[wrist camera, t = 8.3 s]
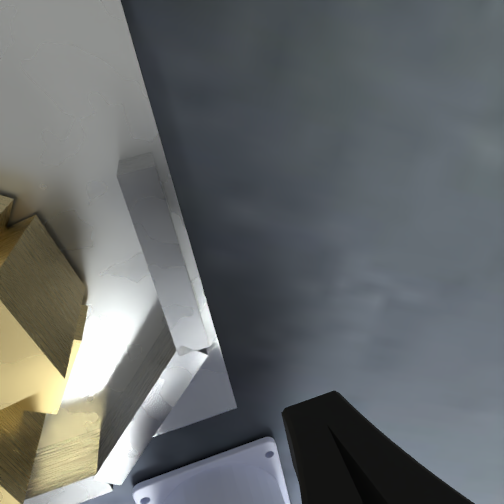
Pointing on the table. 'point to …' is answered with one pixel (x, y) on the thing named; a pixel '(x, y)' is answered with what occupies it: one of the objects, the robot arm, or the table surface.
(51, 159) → the flange plate
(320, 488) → the robot arm
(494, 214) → the table surface
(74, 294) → the gold block ring
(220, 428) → the table surface
